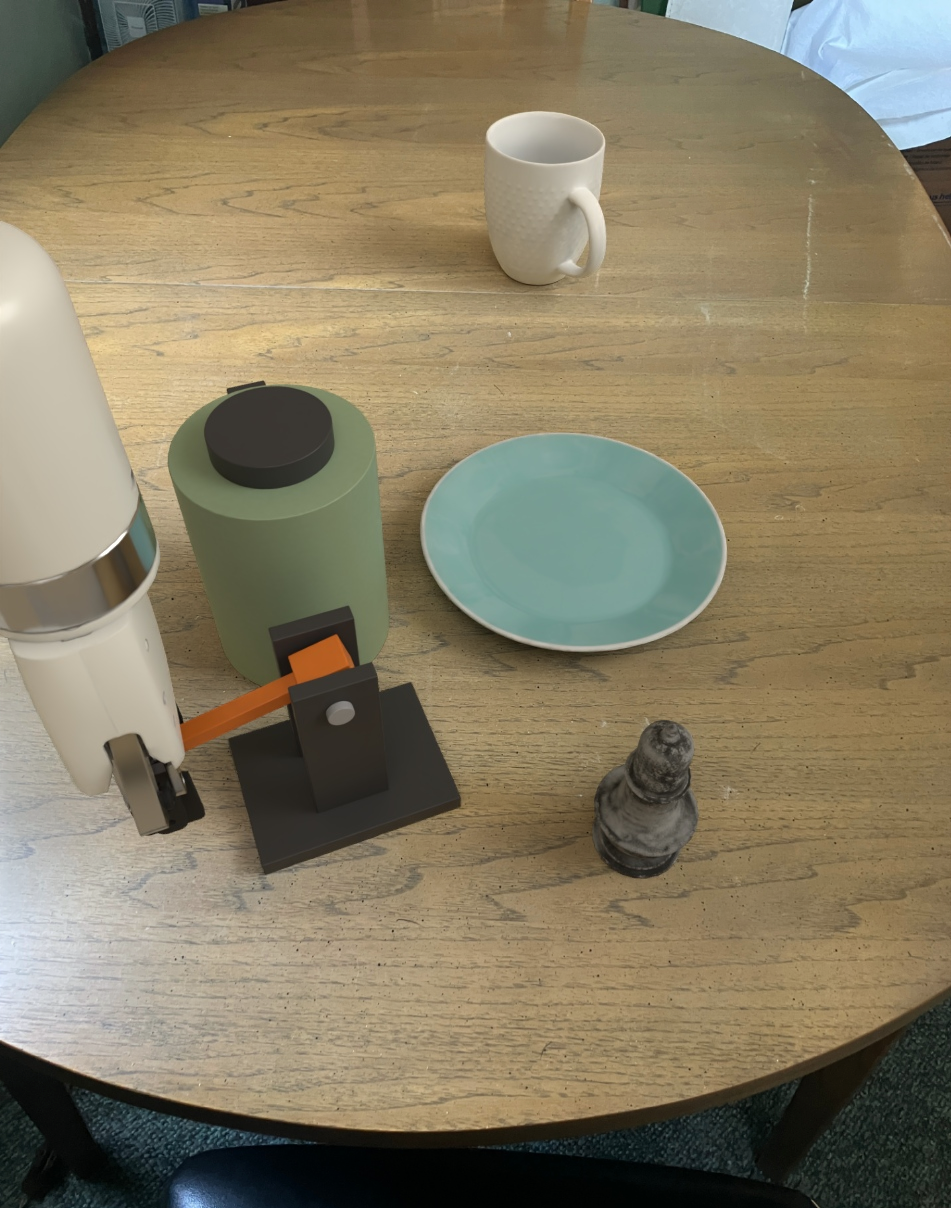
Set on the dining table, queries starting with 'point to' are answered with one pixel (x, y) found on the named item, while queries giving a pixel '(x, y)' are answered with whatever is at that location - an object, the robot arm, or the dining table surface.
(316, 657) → the orange pivot lever
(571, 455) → the plate
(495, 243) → the mug
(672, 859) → the chess piece
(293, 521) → the green canister
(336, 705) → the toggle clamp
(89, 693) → the robot arm
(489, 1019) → the dining table surface
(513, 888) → the dining table surface
